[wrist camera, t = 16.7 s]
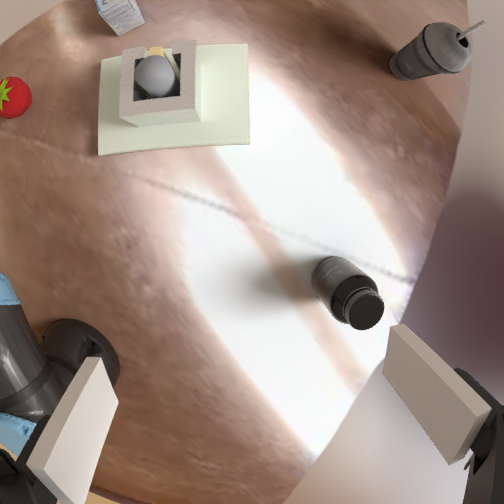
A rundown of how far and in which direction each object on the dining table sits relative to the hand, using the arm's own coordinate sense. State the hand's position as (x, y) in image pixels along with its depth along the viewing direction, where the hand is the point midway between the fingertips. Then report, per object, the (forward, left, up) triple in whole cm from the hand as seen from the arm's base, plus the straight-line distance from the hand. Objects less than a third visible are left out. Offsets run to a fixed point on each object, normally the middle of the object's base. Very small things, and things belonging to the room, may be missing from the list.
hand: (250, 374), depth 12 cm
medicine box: (-15, +35, -30) cm, 49 cm away
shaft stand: (-8, +19, -30) cm, 36 cm away
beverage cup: (+26, +26, -30) cm, 48 cm away
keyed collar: (-8, +19, -28) cm, 35 cm away
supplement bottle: (+14, -7, -30) cm, 34 cm away
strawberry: (-32, +23, -30) cm, 49 cm away
